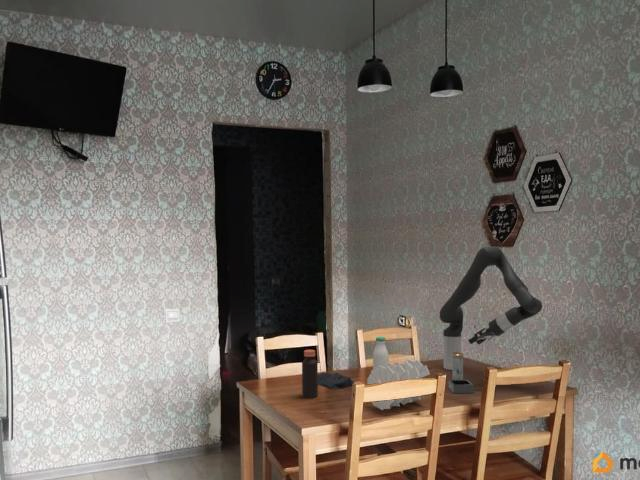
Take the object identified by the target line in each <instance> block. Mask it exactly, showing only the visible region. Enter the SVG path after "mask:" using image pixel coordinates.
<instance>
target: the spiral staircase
mask: <svg viewBox="0 0 640 480" xmlns="http://www.w3.org/2000/svg"><path fill="white" fill-rule="evenodd" d="M429 375H430V371H429V368H428V366H427V365H426V364H425V365H423V363H421V361H419V359H415V360H412V359H408V358H407V361H405V362H401V361H400V362H399V361H397V362H396V364H394V363H392V362H389V365H388V366H384V367H382V366H378V368H376V369H374V370H373V369H372V370H370V374H369V376H367V379H366V382H367V384H374V383H381V382H387V381H393V380H401V379H412V378H420V379H421V378H424V377H427V376H429ZM421 400H422V399H421V396H419V397H413V398H405V399H404V398H403V399H396V400H387V401H379V402H371V403H372V405H373V406H374V408H375V407H376V408H377V409H379V410H381V411H384V410H390V409H391V408H393V407H400V406H401V405H403V406H405V405H406V404H408V403H414V401H421ZM400 404H401V405H400Z"/></svg>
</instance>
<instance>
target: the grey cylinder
mask: <svg viewBox="0 0 640 480" xmlns="http://www.w3.org/2000/svg"><path fill="white" fill-rule="evenodd" d="M464 356H465V355H464V353H463V352H461V353H458V352H455V353H452V363H453V370H452V380H464Z"/></svg>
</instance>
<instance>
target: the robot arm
mask: <svg viewBox="0 0 640 480" xmlns="http://www.w3.org/2000/svg"><path fill="white" fill-rule="evenodd" d="M490 266H495V267H496V268H498V269H499V270H500V272H501V274H502V277H503V281H504V285H505V287H506V288H507V289H508V291H509V292H510V293H511V294H512V295H513V296H514V298H515V299H516V301H517V303H518V304H519V306H515V307H511V308H510V309H509V310H507V311H505V312H504V313H501V314H499V315H498V316H496V317H495V318H493V319H492V320H491V321H489V322H488V327H487V328H485V327H484V328H482V329H480V330H479V331H477V332H476V333H474V334H473V336H472V337H471V338H469V339H468V342H469V344H470V345H472V344H475V342H476V344H477V345H478V346H479V345H481V344H483V343H484V342H487V341H490V340H491V339H493V338H495V337H500V336H502V335H504V334H505V333H506V332H508V331H509V330H510V329H512V328H514V327H515V326H517V324H519V323H521V322H522V321H524V320H526V319H529V318H532V317H534V316H535V315H538V314H539V313H540V312H541V311H542V310H543V309H542V308H543V302H541V300H540V299H539V298H537V297H534V296H533V295H532V293H531V292H530V291H529V288H528V287H527V285H526V284H525V283H524V281H523V280H522V279H521V278H520V277H519V276H518V275H517V273H516V272H515V270H514V269H513V267H512V266H511V263H510V262H509V260H508V258H507V257H506V256H505V253H504V252H503V250H502V249H501V248H499V247H498V246H496V245H495V246H485V247H481V248H480V249H479V250H478V251H477V253H476V255H475V257H474V259H473V261H472V263H471V265H470V266H469V268H468V270H467V272H466V273H465V274H464V276H463V277H462V278H461V280H460V282H459V284H458V285H457V287H456V288H455V290H454V291H453V293H452V294H451V296H450V297H449V298H448V300H447V301H446V302H445V303H444V304H443V305H442V306H441V308H440V311H439V319H440V321H441V322H442V323H445V324H449V326H447V327H446V328H445V329H443V331H442V333H443V334H442V339H443V341H442V342H443V343H442V344H443V345H442V346H443V349H442V351H443V354H442V355H443V360H442V361H443V369H445V370H449V371H453V363H452V353H455V352H458V353H462V333H463V328H464V312H463V308H462V307H461V306H462V305H463V304H465V303H467V302H468V301H469V300H471V299H472V298H473V297H474V296H475V295H476V293H477V292H478V290H479V289H480V287H481V286H482V285H481V283H482V282H481V281H482V280H481V279H482V278H481V276H482V275H483V272H484V271H485V270H486V268H488V267H490Z"/></svg>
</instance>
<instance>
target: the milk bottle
mask: <svg viewBox="0 0 640 480" xmlns="http://www.w3.org/2000/svg"><path fill="white" fill-rule="evenodd" d="M375 343H376V344H375V347H374V349H373V353H372V370H374V369H376V368H378V366H382V367H384V366H388V365H389V364H390V361H389V358H390V357H389V352H388V349H387V346H386V337H384V336H377V337H376V336H375Z"/></svg>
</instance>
